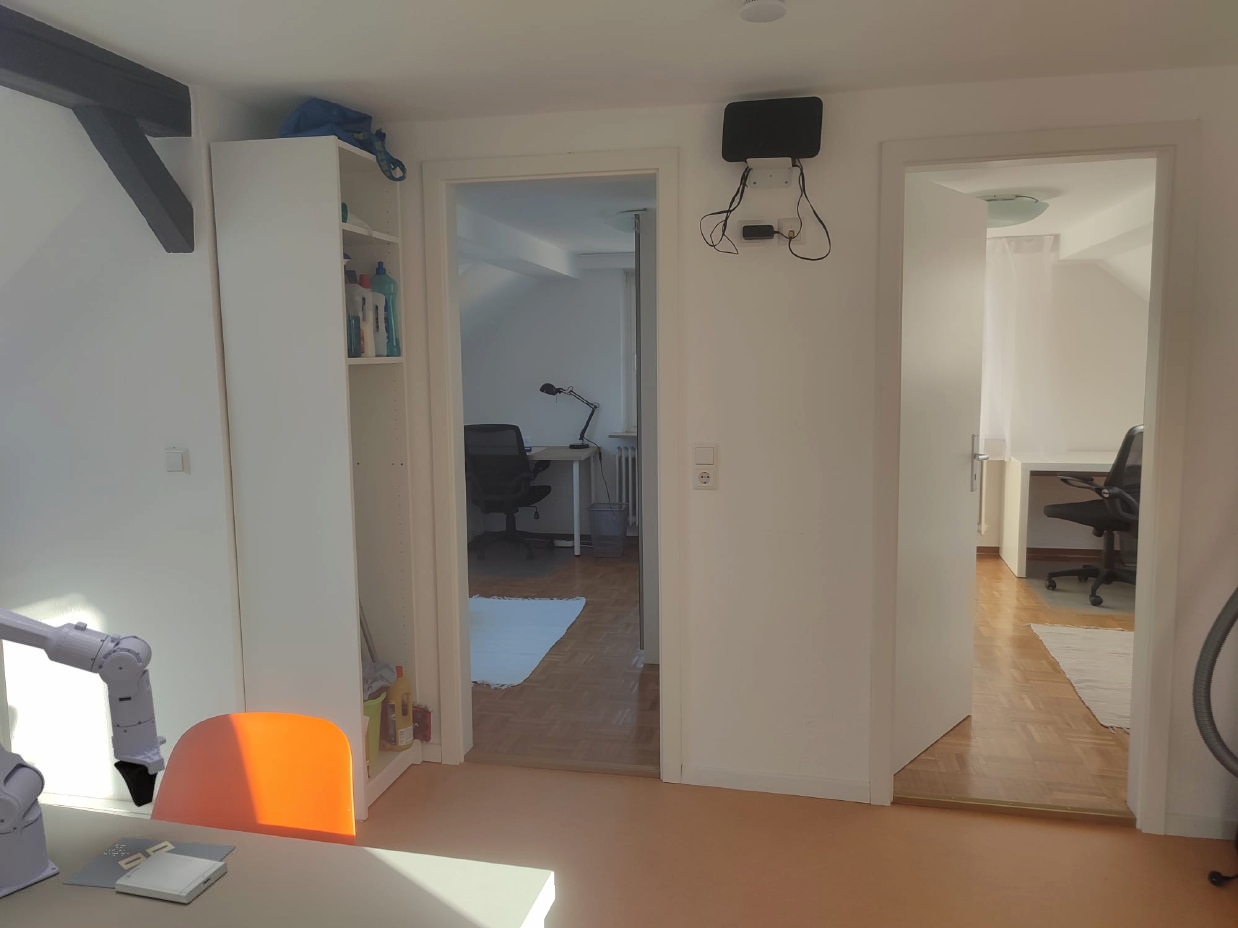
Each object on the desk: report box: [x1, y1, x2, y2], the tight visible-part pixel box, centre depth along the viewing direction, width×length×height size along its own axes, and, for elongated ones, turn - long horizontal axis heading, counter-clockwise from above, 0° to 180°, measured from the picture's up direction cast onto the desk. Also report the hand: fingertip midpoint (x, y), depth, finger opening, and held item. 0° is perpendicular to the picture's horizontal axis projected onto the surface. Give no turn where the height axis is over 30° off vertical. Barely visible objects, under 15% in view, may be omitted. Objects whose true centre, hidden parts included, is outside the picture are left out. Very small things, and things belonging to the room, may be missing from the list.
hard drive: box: [114, 851, 228, 904], centre depth 128 cm, size 2×8×12 cm
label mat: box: [62, 837, 237, 889], centre depth 133 cm, size 20×12×1 cm, turn 80°
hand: (143, 803), depth 134 cm, fingers closed
